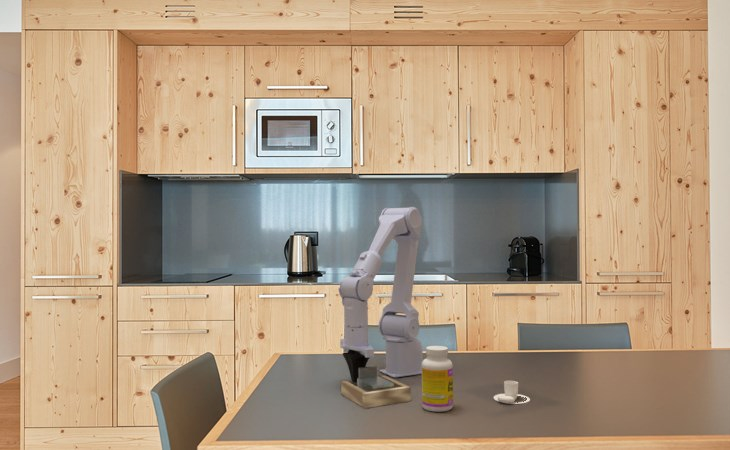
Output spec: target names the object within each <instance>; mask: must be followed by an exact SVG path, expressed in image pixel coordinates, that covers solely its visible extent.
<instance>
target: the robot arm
mask: <svg viewBox="0 0 730 450" xmlns="http://www.w3.org/2000/svg"><path fill="white" fill-rule="evenodd" d="M422 223H423V217H422V216H421V213H420V211H419V209H418V208H417V207H415V206H410V207H393V208H391V207H385V208H384V209H383V210H382V211H381V214H380V215H379V217H378V226H379V227H378V229H377V231H376V233H375V234H374V235H375V236H374V238H373V240H372V242H371V244H370V247H369V248H368V250H366V251H363V252H362V253H360V255H359V258H358V260H357V261H356V263H355V265H354V267H353V268H352V270H351V272H350V274H349V275H348V276H345V277H344V278H343V279H342V280H341V281H340V283H339V287H338V294H339V296H340V298H341V305H342V306H343V313H344V314H343V315H344V318H343V319H344V321H343V322H344V324H343V325H344V338H341V339H340V340H339V341H340V343H339V344H340V347H339V348H340V349H342V350H343V349H345V350H347V351H346V352H342V356H343V358H344V360H345V362H346V365H347V367H348V372H349V375H350V379H351V382H352V383H354V384H357V378H359V368H361V367H367V364H368V361H369V359H370V358H374V357H375V349H374V348H373V347H372V346H371V344H370V343H369V323H368V322H369V315H368V314H369V311H368V309H369V306H368V305H369V304H368V302H369V299H370V298H371V296H373V291H374V285H375V280H374V279H375V277H376V276H377V274H378V273H379V271H380V269H381V266H382V264H383V262H382V258H381V257H382V255H383V254H384V252H385V251H386V249H387V248H388V246H389V245H390V243H391V241H392V240H394V241H395V242H396V243H397V252H396V260H395V261H396V262H395V267H394V274H393V275H394V276H393V284H392V291H391V298H390V299H391V300H390V302H389V303H388V304H386V305H385V306H383V308H382V313H381V317H380V318H379V320H378V330H379V333H380V335H381V336H383V337H382V339H383V340H385V368H384V369H383V368H382V369H379V372H380V373H383V374H384V375H386V376H387V375H388V377H390V378H400V377H409V376H414V375H415V376H416V375H422V362H423V360H424V359H423V358H424V357H423V355H424V354H423V353H424V351H423V346H422V343H421V340H420V339H418V338H417V336H418V335H419V333H420V332H419V331H420V322H419V317H420V316H419V315H420V313H419V311H418V310H417V309H416V307H414V306H413V304H412V298H413V297H412V296H413V288H414V279H415V273H416V263H417V256H418V255H417V254H418V247H419V240H420V238H421V234H422V233H421V231H422ZM402 314H403V315H402Z"/></svg>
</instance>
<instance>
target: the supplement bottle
mask: <svg viewBox="0 0 730 450" xmlns="http://www.w3.org/2000/svg"><path fill="white" fill-rule="evenodd" d="M425 354H426V358H424V359H423V362H422V374H421V407H422V408H423V409H424V410H426V411H428V412H438V413H440V412H441V413H442V412H449V411H451V410H452V409H453V407H454V376H453V375H454V367H453V366H454V365H453V362H452V361H451V360H450V359H449V358H448V354H449V347H447V346H444V345H429V346H426V347H425Z"/></svg>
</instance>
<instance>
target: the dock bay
mask: <svg viewBox="0 0 730 450" xmlns="http://www.w3.org/2000/svg"><path fill="white" fill-rule="evenodd" d="M379 377H381V378H383V379H385V380H387V381H390V382H392V383H394V388H391V389H384V390H378V391H371V392H366V391H364V390H362V389H361V388H359V387H357V385H355V384H353V383H351V382H349V381H347V380H342V381H341V382H340V384H341V386H340V387H341V391H340V392H341V393H340V394H341V395H342V396H344V397H345V398H347V399H349V400H350V401H352V402H354V403H356V404H357V405H359V406H361V407H362V408H364V409H368V408H375V407H380V406H386V405H387V406H388V405H393V404H400V403H405V402H411V399H412V398H411V393H412V392H411V390H412V389H411V386H409V385H407V384H404V383H403V382H400V381H397V380H396V379H393V378H392V377H390V376H387V375H386V374H384V375H379Z"/></svg>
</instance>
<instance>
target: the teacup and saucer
mask: <svg viewBox="0 0 730 450" xmlns="http://www.w3.org/2000/svg"><path fill="white" fill-rule="evenodd" d="M503 388H504V389H503V390H504V393H498V394H495V395H494V396H493V399H494V400H495V401H497V402H499V403H502V404H508V405H509V404H510V405H522V404H527V403H529V402H530V401H531V398H530V397H529V396H526V395H524V394H519V382H518V381H515V380H505V381H504V382H503ZM519 396H521V397H520V398H522V397H524V398H525V397H526V398H527V400H526V401H524V400H523V401H524V402H523V401H519V402H518V403H517V402H515V401H516V400H517V398H518V397H519ZM524 398H523V399H524Z"/></svg>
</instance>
